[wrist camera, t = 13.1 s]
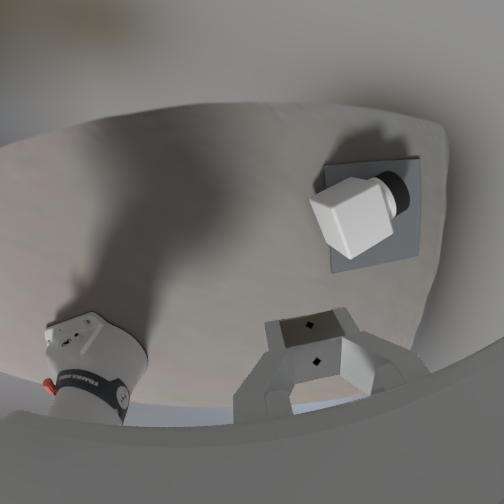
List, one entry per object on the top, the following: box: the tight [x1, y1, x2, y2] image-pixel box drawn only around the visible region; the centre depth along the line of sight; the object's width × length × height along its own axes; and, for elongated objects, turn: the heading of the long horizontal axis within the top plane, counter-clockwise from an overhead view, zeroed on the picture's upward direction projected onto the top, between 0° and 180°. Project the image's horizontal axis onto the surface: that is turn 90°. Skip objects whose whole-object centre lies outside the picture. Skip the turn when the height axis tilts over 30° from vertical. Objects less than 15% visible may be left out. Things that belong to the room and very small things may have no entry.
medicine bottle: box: [309, 170, 410, 259], centre depth 35 cm, size 7×7×12 cm
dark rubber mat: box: [323, 159, 421, 273], centre depth 39 cm, size 16×16×1 cm
